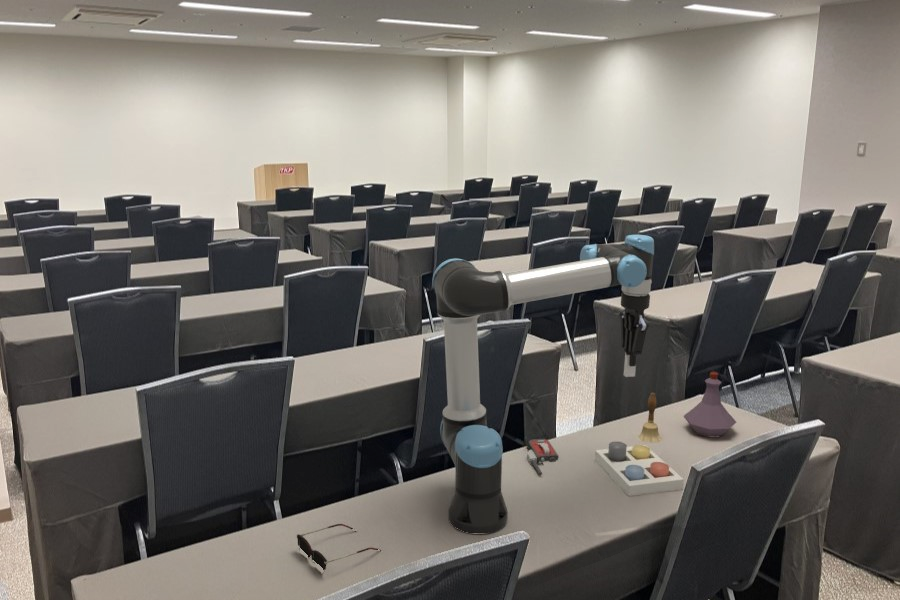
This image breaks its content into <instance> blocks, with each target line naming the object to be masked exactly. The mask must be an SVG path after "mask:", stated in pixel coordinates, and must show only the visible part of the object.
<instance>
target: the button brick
mask: <svg viewBox="0 0 900 600" xmlns="http://www.w3.org/2000/svg"><path fill="white" fill-rule="evenodd" d="M665 463H666V462H665ZM665 463H662V462H653V463H651V465H650V474H651V475H652V476H653V477H654V478H658V477H667V476H668V475H669V467H670V465H668V464H667V463H666V464H665Z"/></svg>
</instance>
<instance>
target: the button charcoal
mask: <svg viewBox="0 0 900 600" xmlns="http://www.w3.org/2000/svg"><path fill="white" fill-rule="evenodd" d="M627 447H628V446H627V443H625V442H622V441H612V442H609V443H608V449H609V452H608V458H609V459H610V460H611V461H615V462H623V461H625V460H626V449H627Z"/></svg>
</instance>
